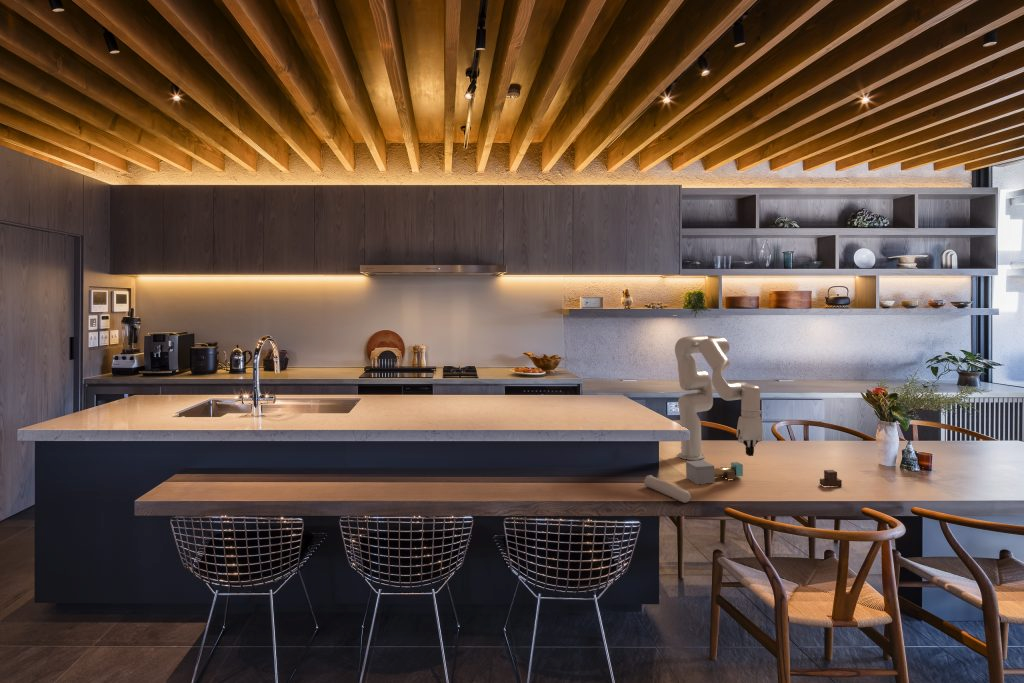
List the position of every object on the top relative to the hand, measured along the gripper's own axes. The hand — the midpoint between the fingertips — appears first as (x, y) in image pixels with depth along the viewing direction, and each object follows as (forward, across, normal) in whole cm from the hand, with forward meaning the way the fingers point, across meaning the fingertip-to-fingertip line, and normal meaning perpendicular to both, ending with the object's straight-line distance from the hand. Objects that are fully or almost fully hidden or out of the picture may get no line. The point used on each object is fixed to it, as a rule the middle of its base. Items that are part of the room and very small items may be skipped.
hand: (749, 455), depth 265 cm
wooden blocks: (+8, -22, +25) cm, 34 cm away
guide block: (+9, +11, +2) cm, 14 cm away
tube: (+9, +44, +15) cm, 48 cm away
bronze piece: (+8, +14, +1) cm, 17 cm away
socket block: (+9, +24, +2) cm, 25 cm away
